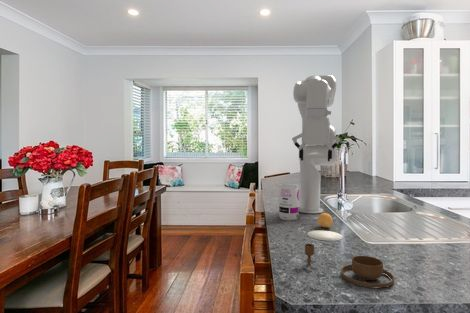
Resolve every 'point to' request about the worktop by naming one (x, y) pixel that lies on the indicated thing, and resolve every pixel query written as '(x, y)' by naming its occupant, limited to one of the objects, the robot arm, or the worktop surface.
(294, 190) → the supplement can
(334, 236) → the disc
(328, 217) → the ball
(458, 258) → the worktop surface
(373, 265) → the place setting
